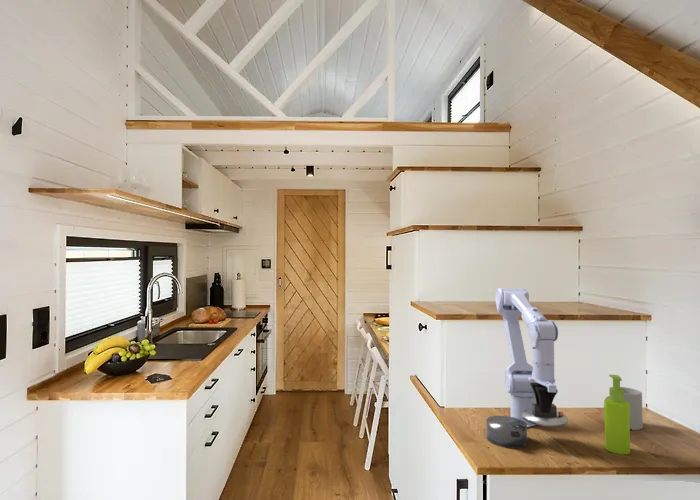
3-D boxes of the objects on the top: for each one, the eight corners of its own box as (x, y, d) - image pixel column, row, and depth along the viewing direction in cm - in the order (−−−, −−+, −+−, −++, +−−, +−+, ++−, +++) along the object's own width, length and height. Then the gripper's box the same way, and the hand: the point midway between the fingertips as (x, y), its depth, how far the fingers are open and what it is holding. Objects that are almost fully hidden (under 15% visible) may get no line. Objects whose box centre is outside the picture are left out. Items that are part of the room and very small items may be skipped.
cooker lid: (516, 411, 128) (516, 398, 128) (558, 412, 127) (557, 398, 127) (529, 426, 116) (528, 411, 116) (575, 427, 115) (574, 412, 115)
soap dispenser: (625, 445, 119) (624, 374, 120) (633, 455, 113) (631, 380, 114) (601, 442, 121) (600, 372, 122) (607, 452, 115) (606, 378, 116)
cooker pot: (479, 430, 129) (479, 414, 130) (515, 430, 130) (514, 413, 130) (497, 450, 115) (497, 431, 116) (536, 450, 116) (536, 431, 116)
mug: (627, 419, 140) (626, 386, 141) (649, 429, 132) (649, 393, 132) (595, 421, 138) (594, 387, 139) (615, 431, 130) (615, 395, 130)
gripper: (521, 357, 130) (521, 401, 129) (537, 368, 115) (537, 418, 115) (545, 357, 129) (545, 402, 129) (564, 369, 115) (564, 420, 114)
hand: (543, 410), depth 122 cm, fingers closed on cooker lid, 2 cm apart
